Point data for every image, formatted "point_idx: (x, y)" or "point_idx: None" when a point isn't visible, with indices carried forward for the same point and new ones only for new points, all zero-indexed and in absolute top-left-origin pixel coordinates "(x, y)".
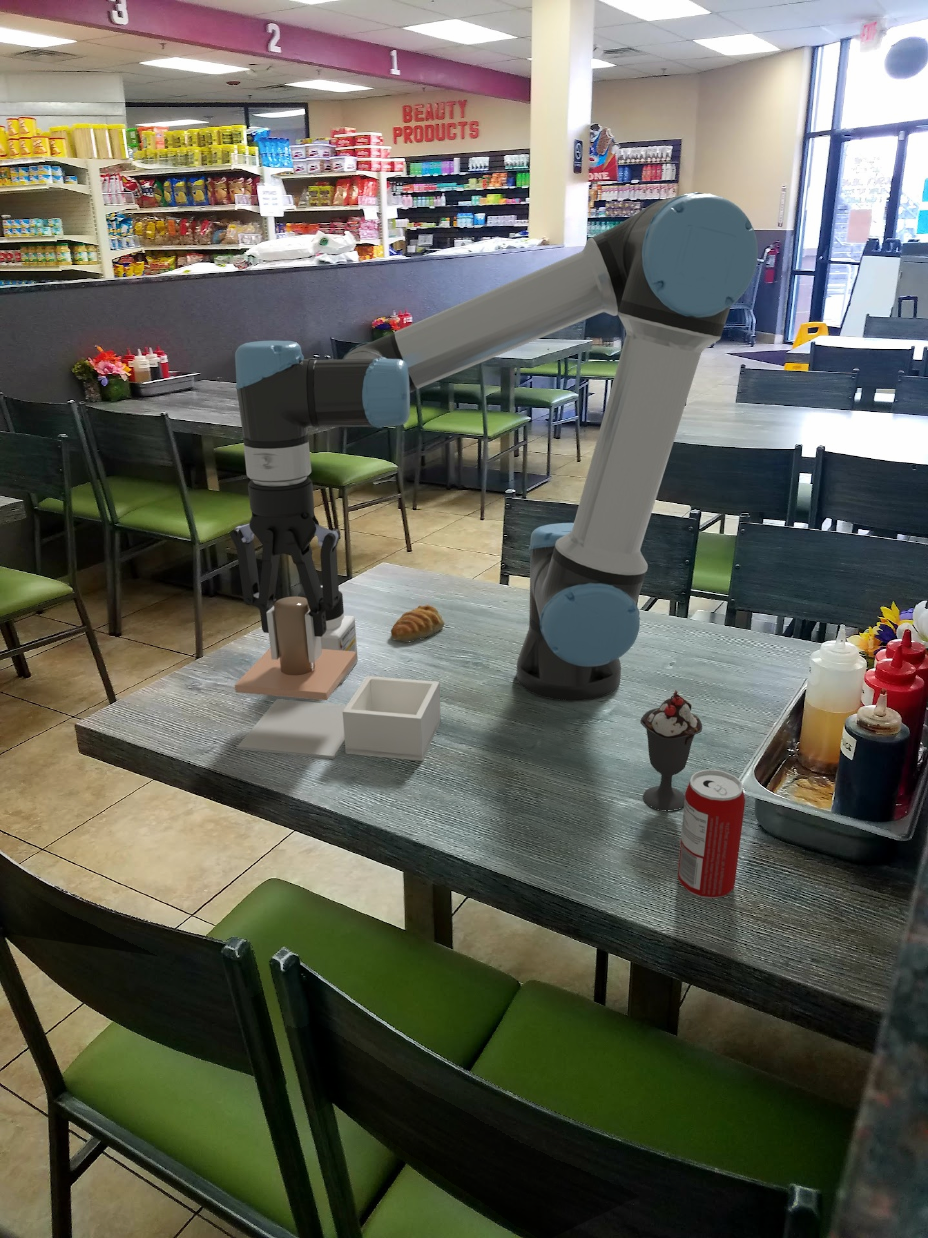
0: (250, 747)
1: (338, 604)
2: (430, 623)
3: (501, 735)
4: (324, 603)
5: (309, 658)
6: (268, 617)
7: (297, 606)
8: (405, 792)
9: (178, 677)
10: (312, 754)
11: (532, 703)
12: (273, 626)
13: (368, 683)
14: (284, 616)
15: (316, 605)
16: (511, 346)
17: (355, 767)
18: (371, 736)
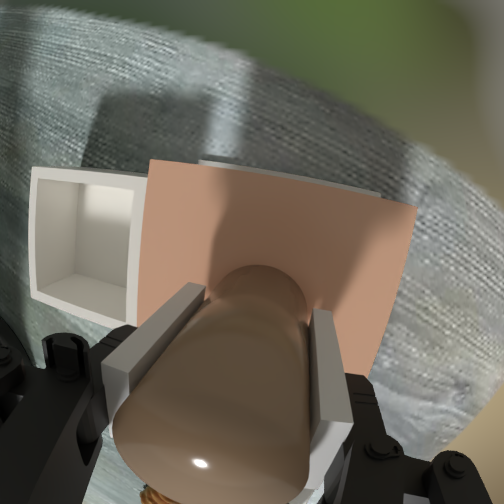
0: (357, 188)
1: None
2: (146, 494)
3: (18, 239)
4: (4, 371)
5: (199, 289)
6: (342, 403)
7: (154, 424)
8: (96, 88)
9: (478, 409)
10: (238, 165)
11: (9, 311)
12: (318, 373)
13: (127, 307)
14: (234, 371)
15: (41, 381)
16: None
17: (163, 138)
18: (123, 172)
